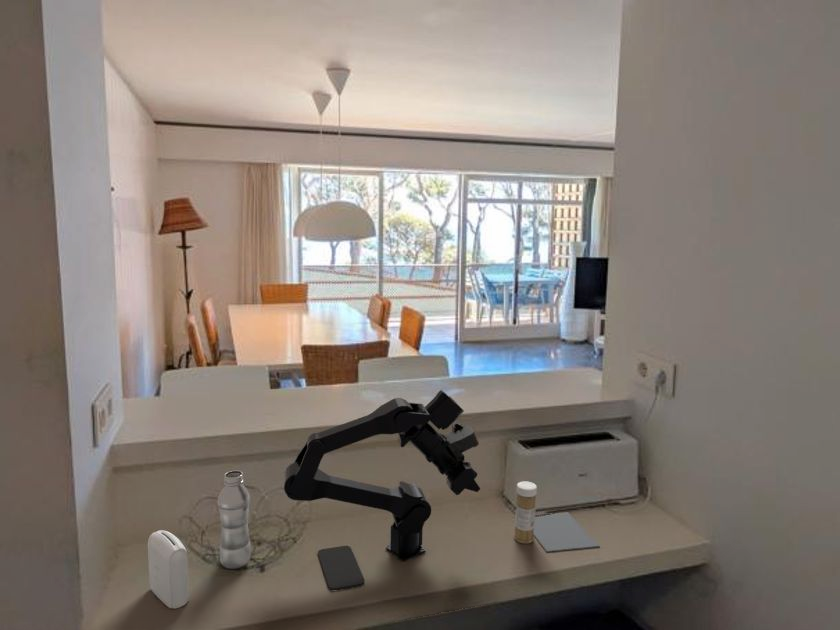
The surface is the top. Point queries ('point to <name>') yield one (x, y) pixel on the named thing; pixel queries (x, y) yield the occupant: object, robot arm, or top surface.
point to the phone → (340, 568)
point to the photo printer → (168, 569)
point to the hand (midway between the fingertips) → (477, 487)
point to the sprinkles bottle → (525, 512)
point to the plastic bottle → (234, 522)
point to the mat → (561, 533)
